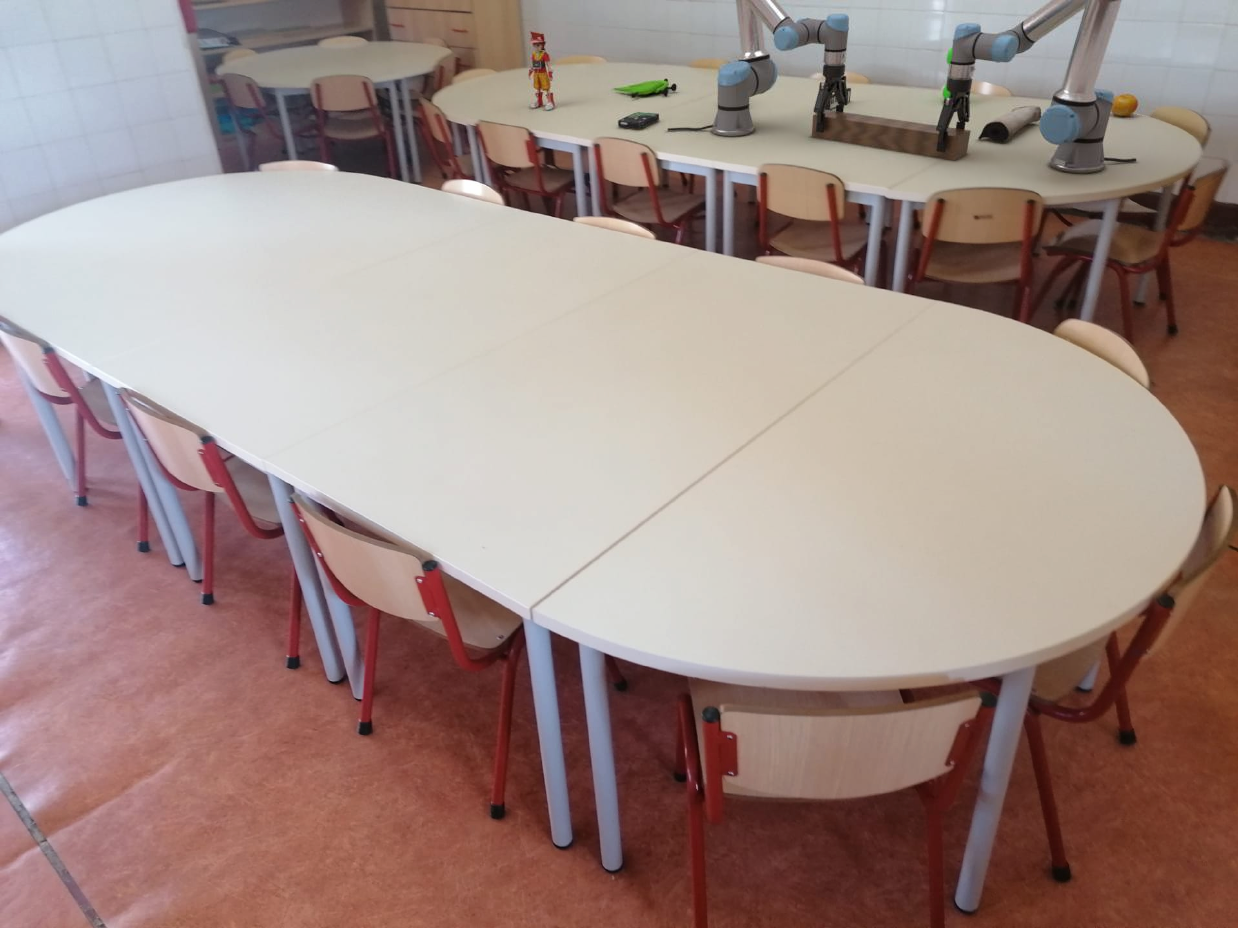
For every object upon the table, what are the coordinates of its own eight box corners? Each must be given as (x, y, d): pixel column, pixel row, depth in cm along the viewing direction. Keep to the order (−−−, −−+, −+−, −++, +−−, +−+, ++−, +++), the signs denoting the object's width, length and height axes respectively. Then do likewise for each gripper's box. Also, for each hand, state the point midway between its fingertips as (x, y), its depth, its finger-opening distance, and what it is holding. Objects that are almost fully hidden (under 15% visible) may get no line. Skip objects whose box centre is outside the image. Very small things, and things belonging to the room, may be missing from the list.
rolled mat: (1009, 110, 328) (1033, 93, 320) (1023, 131, 328) (1047, 114, 320) (974, 133, 311) (998, 115, 302) (988, 155, 311) (1013, 138, 303)
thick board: (811, 137, 325) (812, 115, 321) (824, 131, 330) (826, 109, 326) (954, 160, 294) (958, 136, 289) (966, 154, 299) (970, 130, 294)
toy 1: (525, 109, 381) (517, 32, 364) (534, 104, 388) (527, 28, 371) (550, 110, 377) (543, 32, 360) (559, 105, 384) (553, 28, 367)
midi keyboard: (827, 110, 354) (828, 97, 351) (824, 110, 354) (825, 97, 352) (850, 101, 364) (851, 88, 361) (847, 101, 365) (848, 88, 362)
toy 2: (686, 85, 398) (631, 84, 414) (685, 72, 395) (629, 72, 411) (651, 104, 381) (596, 103, 397) (650, 92, 378) (594, 91, 394)
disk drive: (640, 130, 344) (659, 120, 354) (640, 123, 343) (659, 113, 353) (617, 128, 349) (637, 118, 359) (617, 120, 348) (636, 111, 358)
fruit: (1107, 107, 323) (1124, 87, 320) (1104, 110, 331) (1120, 91, 328) (1128, 120, 322) (1144, 99, 319) (1124, 123, 330) (1140, 103, 327)
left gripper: (825, 71, 302) (820, 137, 314) (861, 58, 316) (855, 122, 329) (806, 69, 306) (801, 134, 319) (843, 56, 321) (837, 119, 333)
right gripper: (954, 86, 276) (943, 157, 288) (988, 71, 290) (976, 140, 302) (931, 84, 280) (921, 154, 292) (965, 69, 294) (955, 137, 306)
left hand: (829, 128), depth 324 cm, fingers open, 12 cm apart
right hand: (949, 147), depth 297 cm, fingers open, 12 cm apart
